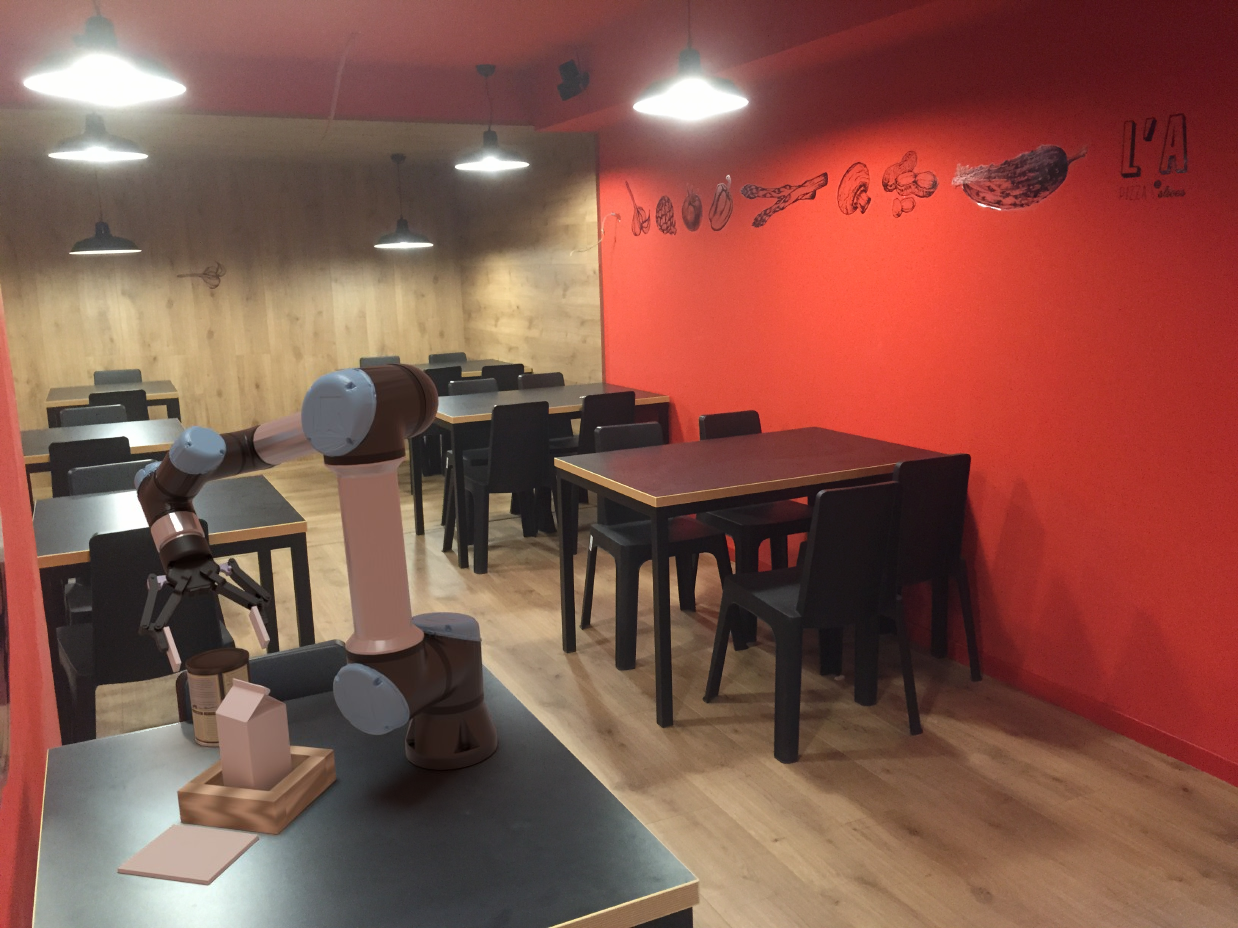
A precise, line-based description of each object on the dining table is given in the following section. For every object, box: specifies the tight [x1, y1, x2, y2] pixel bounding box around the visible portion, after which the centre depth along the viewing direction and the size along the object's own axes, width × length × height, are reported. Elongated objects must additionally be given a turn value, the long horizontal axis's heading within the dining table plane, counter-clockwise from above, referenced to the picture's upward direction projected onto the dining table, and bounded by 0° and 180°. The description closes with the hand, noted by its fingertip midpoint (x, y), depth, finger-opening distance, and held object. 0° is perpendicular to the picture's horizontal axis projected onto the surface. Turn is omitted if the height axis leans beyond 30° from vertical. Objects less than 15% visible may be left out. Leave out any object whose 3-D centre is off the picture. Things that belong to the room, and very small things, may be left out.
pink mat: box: [116, 823, 260, 886], centre depth 133 cm, size 14×11×1 cm
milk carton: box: [215, 679, 292, 791], centre depth 145 cm, size 7×7×19 cm
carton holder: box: [176, 745, 337, 835], centre depth 146 cm, size 16×16×5 cm
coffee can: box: [184, 647, 252, 748], centre depth 169 cm, size 10×10×14 cm
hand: (223, 655), depth 151 cm, fingers open, 13 cm apart
